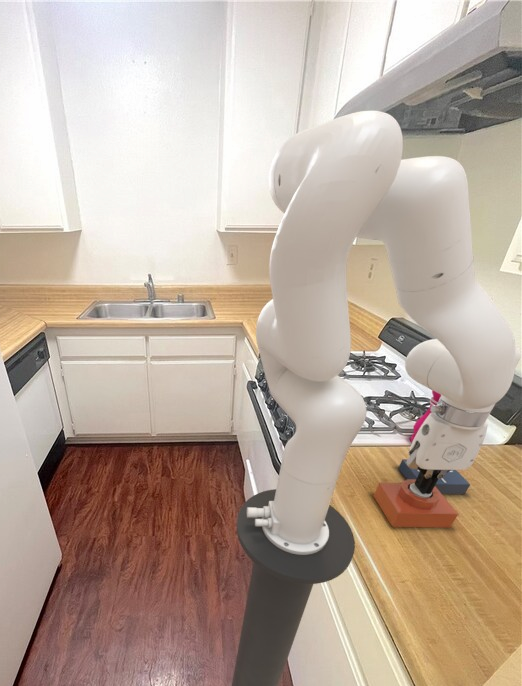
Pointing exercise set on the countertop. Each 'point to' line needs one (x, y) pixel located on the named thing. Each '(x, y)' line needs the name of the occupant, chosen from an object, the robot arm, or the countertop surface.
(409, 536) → the countertop surface
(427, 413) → the pepper mill
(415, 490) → the push button
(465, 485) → the tap panel
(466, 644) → the countertop surface
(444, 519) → the orange button housing
